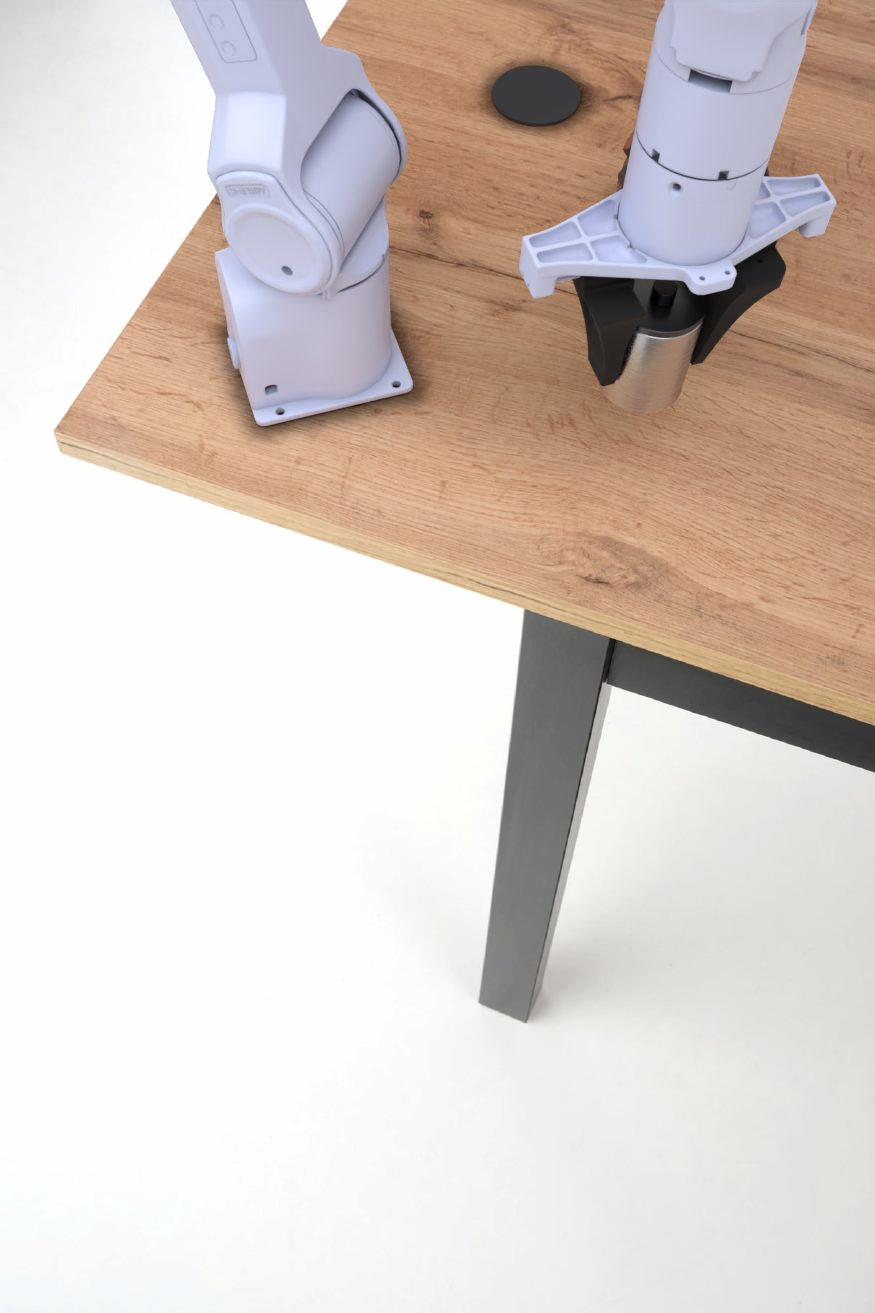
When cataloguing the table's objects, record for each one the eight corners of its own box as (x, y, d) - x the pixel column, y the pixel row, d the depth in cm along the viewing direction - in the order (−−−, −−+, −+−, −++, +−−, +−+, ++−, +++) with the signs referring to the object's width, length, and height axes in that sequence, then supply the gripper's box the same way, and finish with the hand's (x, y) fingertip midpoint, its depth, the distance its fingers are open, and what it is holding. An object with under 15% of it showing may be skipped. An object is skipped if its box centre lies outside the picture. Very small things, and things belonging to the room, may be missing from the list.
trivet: (508, 133, 80) (509, 130, 80) (479, 76, 83) (479, 73, 82) (593, 116, 81) (593, 113, 81) (561, 60, 84) (561, 58, 83)
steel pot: (616, 422, 60) (640, 328, 54) (586, 360, 62) (605, 262, 56) (694, 403, 61) (726, 309, 55) (662, 342, 63) (689, 244, 57)
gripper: (575, 235, 45) (539, 452, 57) (906, 164, 48) (805, 386, 60) (514, 118, 48) (492, 347, 60) (828, 56, 51) (747, 289, 63)
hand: (644, 360), depth 60 cm, fingers closed on steel pot, 4 cm apart
